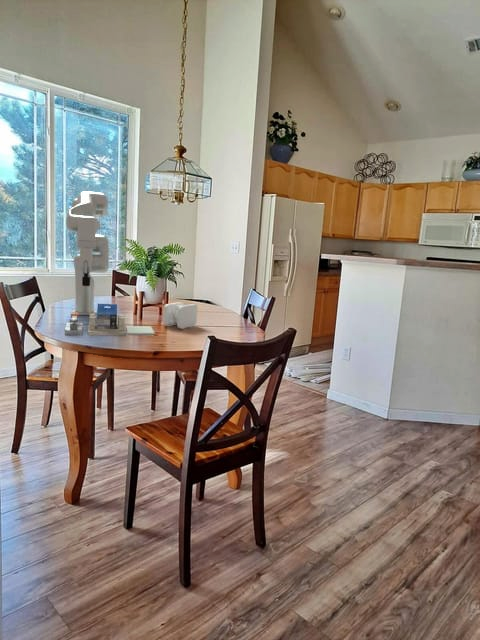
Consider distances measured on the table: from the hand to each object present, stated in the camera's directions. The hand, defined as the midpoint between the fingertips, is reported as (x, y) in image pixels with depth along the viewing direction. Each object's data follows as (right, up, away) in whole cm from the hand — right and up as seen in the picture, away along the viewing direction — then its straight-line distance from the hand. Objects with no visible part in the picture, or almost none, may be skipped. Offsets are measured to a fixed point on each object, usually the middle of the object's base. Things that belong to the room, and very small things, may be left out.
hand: (86, 285), depth 203 cm
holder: (+8, -21, +3) cm, 22 cm away
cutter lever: (-5, -17, 0) cm, 18 cm away
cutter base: (-5, -20, -1) cm, 21 cm away
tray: (+22, -21, +8) cm, 32 cm away
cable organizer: (+39, -19, +25) cm, 50 cm away
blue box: (+8, -21, +3) cm, 23 cm away
